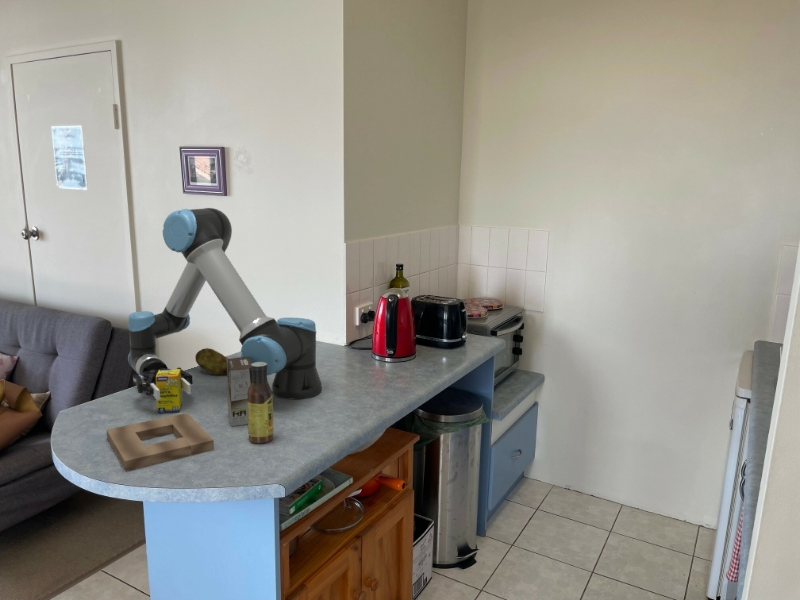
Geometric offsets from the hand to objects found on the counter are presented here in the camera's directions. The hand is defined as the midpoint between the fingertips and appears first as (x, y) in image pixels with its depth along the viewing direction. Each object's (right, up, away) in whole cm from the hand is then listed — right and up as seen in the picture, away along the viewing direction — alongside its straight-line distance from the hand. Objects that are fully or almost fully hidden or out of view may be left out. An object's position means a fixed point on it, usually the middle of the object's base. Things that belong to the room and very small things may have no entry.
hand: (174, 392), depth 164 cm
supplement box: (-3, -6, +5) cm, 8 cm away
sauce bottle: (+27, -10, -12) cm, 31 cm away
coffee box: (+18, -7, 0) cm, 20 cm away
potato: (0, +1, +36) cm, 37 cm away
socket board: (+3, -10, -17) cm, 20 cm away
